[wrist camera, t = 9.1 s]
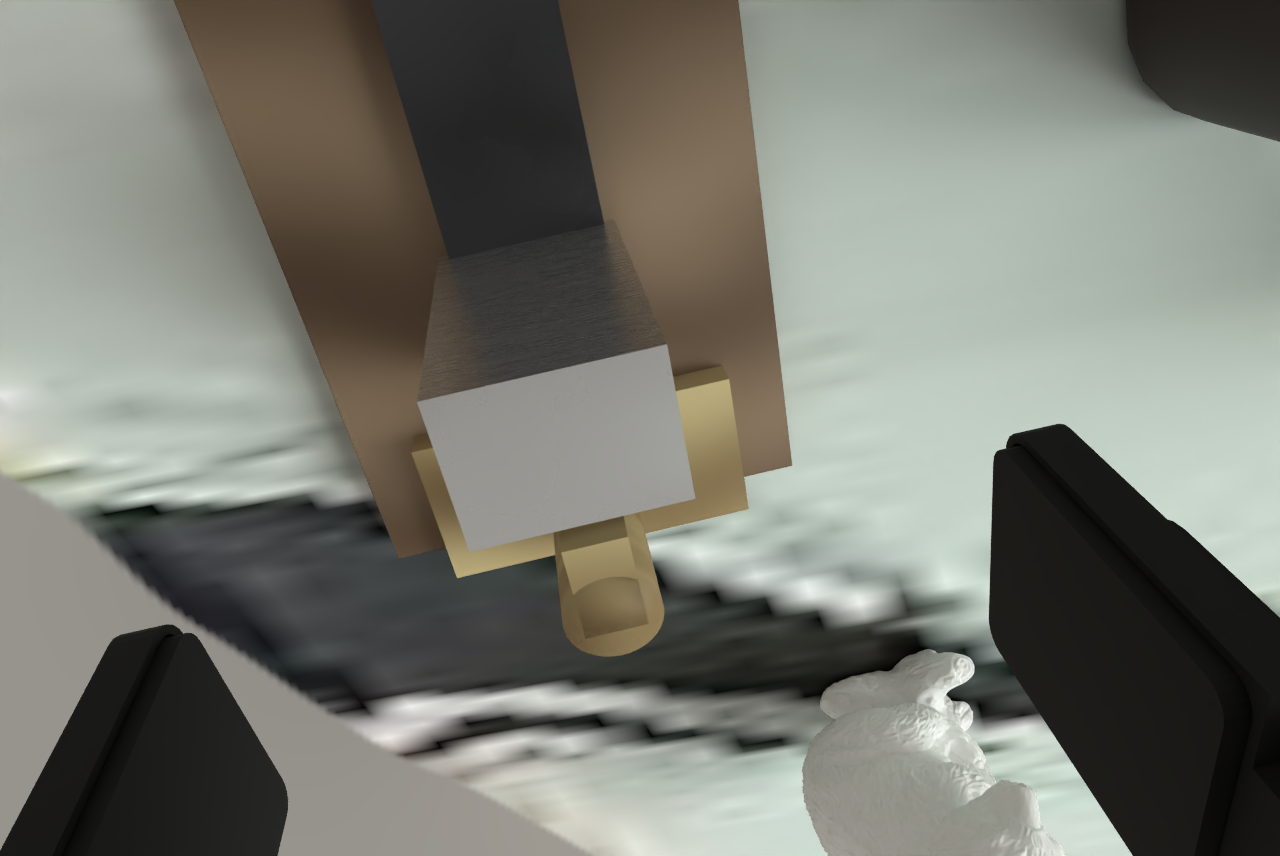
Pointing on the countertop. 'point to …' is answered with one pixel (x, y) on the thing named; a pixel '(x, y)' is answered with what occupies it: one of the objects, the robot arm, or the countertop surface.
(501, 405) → the grey block
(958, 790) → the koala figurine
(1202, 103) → the vinegar
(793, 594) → the countertop surface
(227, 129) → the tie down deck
